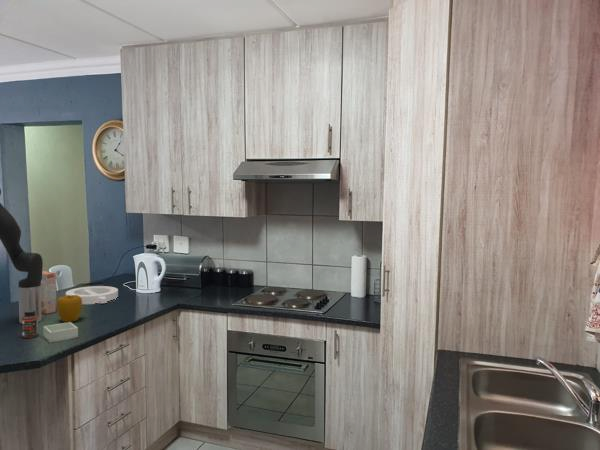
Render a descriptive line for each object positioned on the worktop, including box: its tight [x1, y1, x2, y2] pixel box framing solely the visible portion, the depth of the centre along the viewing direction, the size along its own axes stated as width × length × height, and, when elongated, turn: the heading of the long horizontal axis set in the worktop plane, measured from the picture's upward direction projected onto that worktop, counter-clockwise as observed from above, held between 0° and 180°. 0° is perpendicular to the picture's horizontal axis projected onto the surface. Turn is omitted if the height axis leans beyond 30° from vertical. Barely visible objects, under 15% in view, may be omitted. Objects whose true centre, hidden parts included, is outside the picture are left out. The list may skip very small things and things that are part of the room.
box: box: [42, 322, 79, 344], centre depth 200 cm, size 11×11×4 cm
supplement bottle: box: [21, 310, 39, 339], centre depth 200 cm, size 6×6×11 cm
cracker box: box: [41, 270, 57, 315], centre depth 239 cm, size 14×6×21 cm, turn 59°
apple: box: [56, 295, 83, 323], centre depth 224 cm, size 11×11×13 cm
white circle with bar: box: [65, 285, 119, 305], centre depth 270 cm, size 28×28×5 cm
